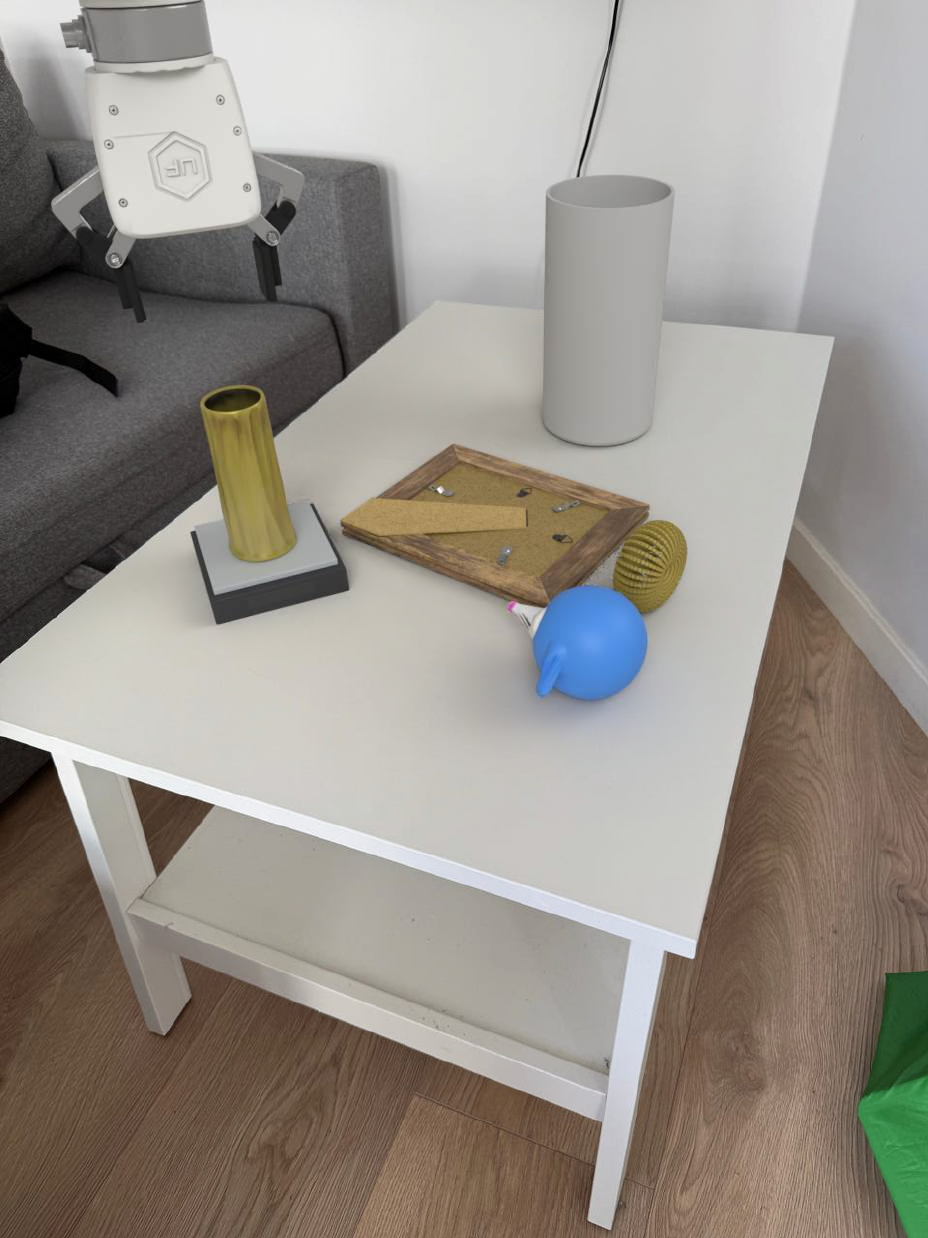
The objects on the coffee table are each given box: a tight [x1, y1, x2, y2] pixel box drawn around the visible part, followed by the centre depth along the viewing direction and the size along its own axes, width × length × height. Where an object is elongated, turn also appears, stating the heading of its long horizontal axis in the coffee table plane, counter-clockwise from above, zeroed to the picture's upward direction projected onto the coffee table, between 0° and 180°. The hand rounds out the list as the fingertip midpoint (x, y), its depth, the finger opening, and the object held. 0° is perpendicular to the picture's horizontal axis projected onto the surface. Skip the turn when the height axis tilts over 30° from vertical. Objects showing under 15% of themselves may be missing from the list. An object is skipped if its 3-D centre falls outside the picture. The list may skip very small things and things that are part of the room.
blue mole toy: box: [507, 584, 649, 701], centre depth 70 cm, size 12×12×8 cm
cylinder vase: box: [542, 174, 676, 447], centre depth 98 cm, size 12×12×25 cm
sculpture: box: [612, 519, 688, 614], centre depth 77 cm, size 8×4×8 cm, turn 140°
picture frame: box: [340, 443, 651, 608], centre depth 89 cm, size 19×2×24 cm
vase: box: [199, 384, 297, 562], centre depth 79 cm, size 6×6×14 cm
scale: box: [189, 499, 350, 625], centre depth 84 cm, size 12×12×3 cm
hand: (205, 306), depth 69 cm, fingers open, 9 cm apart
